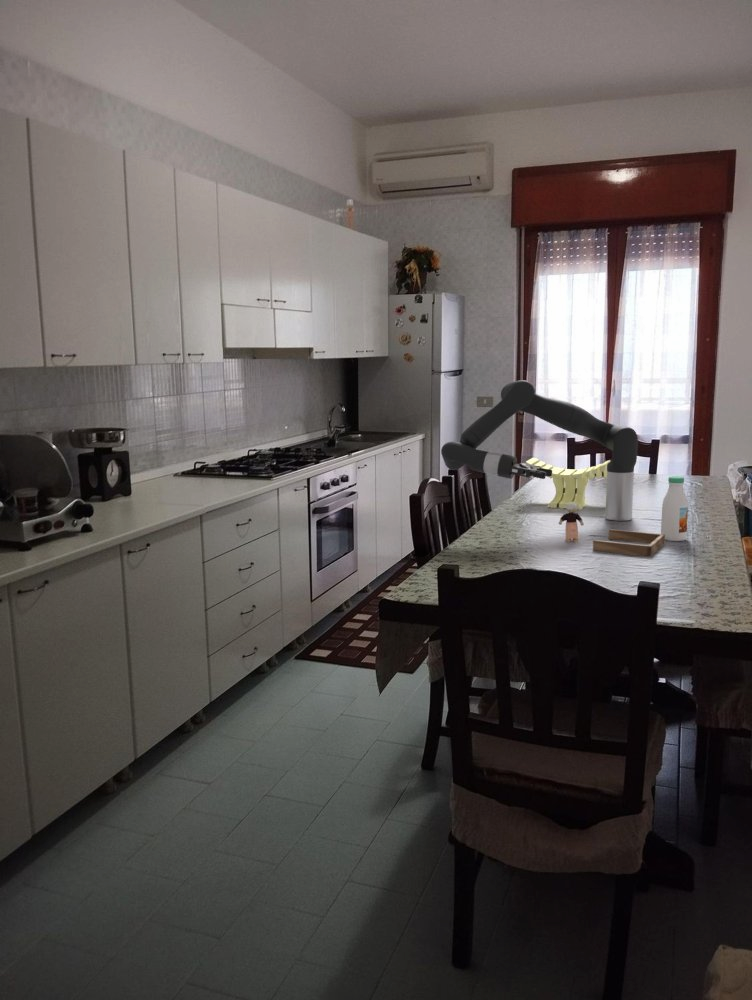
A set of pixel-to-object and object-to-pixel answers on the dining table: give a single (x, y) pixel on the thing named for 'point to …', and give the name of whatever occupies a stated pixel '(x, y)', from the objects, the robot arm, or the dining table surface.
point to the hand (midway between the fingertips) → (548, 474)
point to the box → (634, 549)
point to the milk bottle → (675, 511)
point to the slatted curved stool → (571, 482)
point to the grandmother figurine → (571, 522)
